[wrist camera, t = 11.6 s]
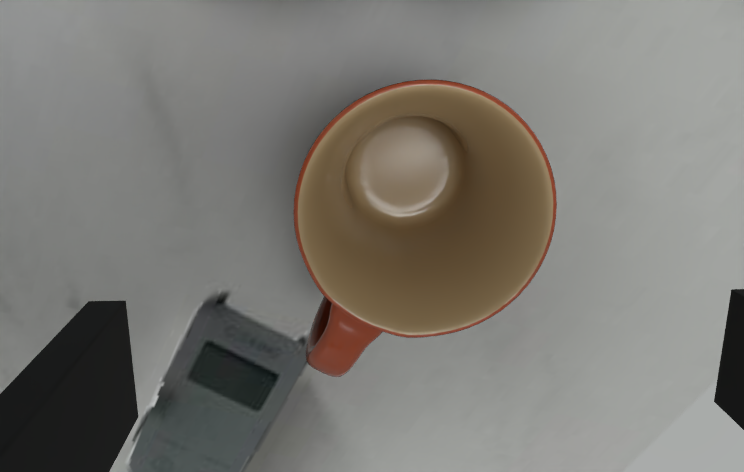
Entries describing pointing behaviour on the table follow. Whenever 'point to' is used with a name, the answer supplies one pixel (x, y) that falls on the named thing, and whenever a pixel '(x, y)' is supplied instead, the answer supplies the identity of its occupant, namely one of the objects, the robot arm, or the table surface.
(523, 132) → the mug
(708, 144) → the table surface
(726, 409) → the robot arm
